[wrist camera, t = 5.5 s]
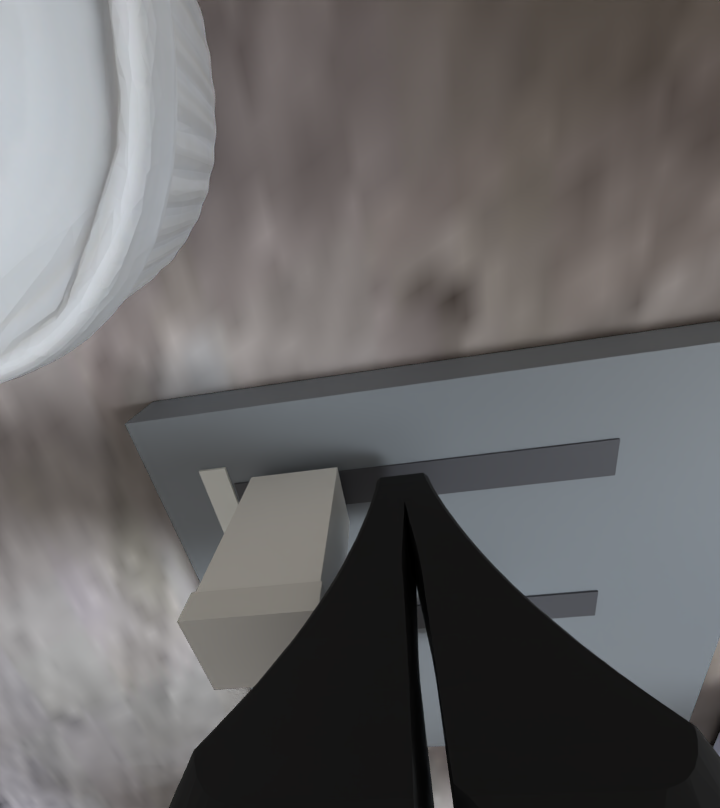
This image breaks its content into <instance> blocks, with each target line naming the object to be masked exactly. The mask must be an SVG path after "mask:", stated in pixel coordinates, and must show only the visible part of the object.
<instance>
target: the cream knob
mask: <svg viewBox="0 0 720 808" xmlns="http://www.w3.org/2000/svg"><path fill="white" fill-rule="evenodd" d="M349 524H350V521H349V517H348V513H347V508H346V504H345V499H344V495H343V490H342V486H341V481H340V477H339V472H338V468H337V467H335V468H326V469H318V470H309V471H301V472H292V473H284V474H276V475H267V476H259V477H251V479H250V481H249V483H248V486H247V488H246V490H245V492H244V494H243V496H242V498H241V500H240V502H239V504H238V506H237V508H236V510H235V512H234V514H233V516H232V519H231V521H230V523H229V525H228V527H227V529H226V531H225V533H224V535H223V537H222V539H221V541H220V543H219V545H218V547H217V550H216V552H215V554H214V556H213V558H212V560H211V562H210V564H209V566H208V568H207V570H206V572H205V574H204V576H203V578H202V580H201V583H200V585H199V587H198V589H197V591H196V592H193V593H191V595H190V597H189V599H188V601H187V603H186V605H185V607H184V609H183V611H182V613H181V615H180V617H179V619H178V621H177V622H178V624H179V626H180V628H181V630H182V632H183V633H184V635H185V637H186V639H187V641H188V643H189V644H190V646H191V648H192V650H193V652H194V654H195V655H196V657H197V659H198V661H199V663H200V664H201V666H202V668H203V670H204V672H205V674H206V675H207V677H208V679H209V681H210V683H211V685H212V686H213V688H214V690H221V689H236V688H252V687H254V686H255V685H256V684H257V683H258V681H259V680H260V679H261V678H262V677H263V675H264V674H265V673H266V672H267V671H268V669H269V668H270V667H271V666H272V664H273V663H274V662H275V661H276V660H277V658H278V657H279V656H280V655H281V654H282V652H283V651H284V650H285V649H286V647H287V646H288V645H289V644H290V643H291V641H292V640H293V639H294V637H295V636H296V635H297V633H298V632H299V631H300V629H301V628H302V627H303V625H304V624H305V622H306V621H307V620H308V618H309V617H310V615H311V614H312V612H313V611H314V610H315V608H316V607H317V605H318V604H319V602H320V601H321V599H322V598H323V596H324V595H325V593H326V592H327V590H328V588H329V587H330V585H331V584H332V582H333V580H334V579H335V577H336V575H337V574H338V572H339V570H340V568H341V567H342V565H343V563H344V561H345V559H346V557H347V549H348V537H349Z"/></svg>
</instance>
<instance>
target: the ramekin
mask: <svg viewBox="0 0 720 808" xmlns="http://www.w3.org/2000/svg"><path fill="white" fill-rule="evenodd" d="M215 139H216V122H215V90H214V85H213V81H212V70H211V57H210V52H209V48H208V45H207V41H206V34H205V26H204V19H203V16H202V12H201V9H200V7H199V4H198V2H197V0H0V383H3V382H6V381H9V380H12V379H15V378H18V377H21V376H23V375H26V374H28V373H30V372H33V371H35V370H37V369H39V368H41V367H43V366H46V365H48V364H50V363H52V362H54V361H56V360H57V359H59V358H61V357H62V356H64V355H66V354H67V353H69V352H71V351H72V350H73V349H75V348H76V347H77V346H79V345H80V344H82V343H83V342H84V341H86V340H87V339H88V338H90V337H91V336H92V335H93V334H94V333H95V332H96V331H97V330H98V329H99V328H100V327H101V326H102V325H103V324H104V323H105V322H106V321H107V320H108V319H109V318H110V317H111V316H112V315H113V314H114V313H115V311H116V310H117V309H118V308H119V306H120V305H121V304H122V302H123V301H124V300H125V299H127V298H128V297H129V296H131V295H132V294H134V293H135V292H136V291H138V290H139V289H140V288H142V287H143V286H144V285H146V284H147V283H148V282H150V281H151V280H152V279H154V278H155V276H156V275H157V274H158V273H159V271H160V270H161V269H162V268H164V267H165V266H167V265H168V264H169V263H170V262H171V261H172V260H173V259H174V257H175V256H176V254H177V252H178V250H179V249H180V248H181V247H182V246H183V245H184V243H185V242H186V240H187V239H188V237H189V234H190V232H191V230H192V228H193V226H194V225H195V223H196V222H197V220H198V219H199V216H200V213H201V208H202V205H203V202H204V200H205V198H206V196H207V194H208V191H209V180H210V175H211V172H212V169H213V166H214V146H215Z"/></svg>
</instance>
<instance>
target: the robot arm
mask: <svg viewBox="0 0 720 808" xmlns="http://www.w3.org/2000/svg"><path fill="white" fill-rule="evenodd" d="M417 591H418V596H419V600H420V605H421V610H422V614H423V619H424V623H425V628H426V632H427V637H428V642H429V646H430V651H431V655H432V660H433V666H434V671H435V677H436V683H437V690H438V698H439V705H440V712H441V719H442V726H443V734H444V741H445V748H446V755H447V763H448V770H449V777H450V784H451V792H452V799H453V806H454V808H720V732H719V735H718V737H717V739H716V742H715V744H714V746H713V747H712V746H711V745H710V743H709V742H708V741H707V740H706V738H705V737H704V736H703V735H702V733H701V732H700V731H699V730H698V728H697V727H696V726H695V725H693V724H692V723H690V722H689V721H687V720H686V719H684V718H683V717H681V716H680V715H678V714H677V713H676V712H674V711H673V710H671V709H670V708H668V707H667V706H665V705H664V704H662V703H661V702H660V701H658V700H657V699H655V698H654V697H652V696H651V695H649V694H648V693H647V692H645V691H644V690H642V689H641V688H640V687H638V686H637V685H635V684H634V683H633V682H631V681H630V680H629V679H627V678H626V677H624V676H623V675H622V674H620V673H619V672H617V671H616V670H615V669H614V668H612V667H611V666H610V665H608V664H607V663H606V662H604V661H603V660H602V659H600V658H599V657H598V656H596V655H595V654H594V653H593V652H591V651H590V650H589V649H587V648H586V647H585V646H583V645H582V644H581V643H580V642H578V641H577V640H576V639H575V638H574V637H572V636H571V635H570V634H569V633H568V632H566V631H565V630H564V629H563V628H562V627H560V626H559V625H558V624H557V623H556V622H555V621H553V620H552V619H551V618H550V617H549V616H547V615H546V614H545V613H544V612H543V611H541V610H540V609H539V608H538V607H537V606H535V605H534V604H533V603H532V602H531V601H530V600H529V599H528V598H527V597H526V596H525V595H524V594H522V593H521V592H520V591H519V590H518V589H517V588H516V587H515V586H514V585H513V584H512V583H511V582H510V581H509V580H508V579H507V578H506V577H505V576H504V575H503V574H502V573H501V572H500V571H499V570H498V569H497V568H496V567H495V566H494V565H493V564H492V563H491V562H490V561H489V560H488V559H487V557H486V556H485V555H484V554H483V553H482V552H481V551H480V550H479V548H478V547H477V546H476V545H475V544H474V543H473V542H472V540H471V539H470V538H469V537H468V536H467V534H466V533H465V532H464V531H463V529H462V528H461V527H460V525H459V524H458V523H457V521H456V520H455V519H454V518H453V516H452V515H451V514H450V512H449V511H448V509H447V508H446V507H445V505H444V504H443V502H442V501H441V499H440V497H439V496H438V494H437V493H436V491H435V489H434V488H433V486H432V484H431V482H430V480H429V477H428V476H427V475H426V474H425V473H416V474H407V475H398V476H390V477H381V478H380V479H379V480H378V481H377V483H376V488H375V492H374V495H373V498H372V501H371V504H370V507H369V509H368V512H367V514H366V517H365V519H364V521H363V524H362V526H361V528H360V531H359V533H358V535H357V537H356V540H355V541H354V543H353V545H352V547H351V549H350V551H349V553H348V555H347V557H346V559H345V561H344V563H343V565H342V567H341V568H340V570H339V572H338V574H337V575H336V577H335V579H334V580H333V582H332V584H331V585H330V587H329V588H328V590H327V592H326V593H325V595H324V596H323V598H322V599H321V601H320V602H319V604H318V605H317V607H316V608H315V610H314V611H313V612H312V614H311V615H310V617H309V618H308V620H307V621H306V622H305V624H304V625H303V627H302V628H301V629H300V631H299V632H298V633H297V635H296V636H295V637H294V639H293V640H292V641H291V643H290V644H289V645H288V646H287V647H286V649H285V650H284V651H283V652H282V654H281V655H280V656H279V657H278V658H277V660H276V661H275V662H274V663H273V664H272V666H271V667H270V668H269V669H268V671H267V672H266V673H265V674H264V675H263V677H262V678H261V679H260V680H259V681H258V683H257V684H256V685H255V686H254V687H253V688H252V689H251V690H250V692H249V693H248V694H247V695H246V696H245V697H244V698H243V699H242V700H241V701H240V702H239V703H238V705H237V706H236V707H235V708H234V709H233V710H232V711H231V712H230V713H229V714H228V715H227V716H226V717H225V718H224V719H223V720H222V721H221V723H220V724H219V725H218V726H217V727H216V728H215V729H214V730H213V731H212V732H211V733H210V734H209V735H208V736H207V737H206V738H205V739H204V740H203V741H202V742H201V744H200V745H199V746H198V747H197V748H196V749H195V750H194V751H193V754H192V756H191V758H190V761H189V763H188V765H187V768H186V770H185V772H184V774H183V777H182V779H181V781H180V783H179V785H178V787H177V790H176V792H175V795H174V797H173V799H172V802H171V804H170V807H169V808H434V801H433V792H432V783H431V774H430V765H429V756H428V747H427V738H426V729H425V720H424V711H423V702H422V693H421V684H420V670H419V651H418V618H417Z"/></svg>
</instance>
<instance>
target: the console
mask: <svg viewBox="0 0 720 808" xmlns="http://www.w3.org/2000/svg"><path fill="white" fill-rule="evenodd" d="M125 426H126V428H127V430H128V432H129V434H130V436H131V438H132V440H133V443H134V445H135V447H136V449H137V451H138V453H139V455H140V457H141V459H142V461H143V464H144V466H145V468H146V470H147V472H148V474H149V476H150V478H151V480H152V482H153V484H154V487H155V489H156V491H157V493H158V495H159V497H160V499H161V501H162V503H163V505H164V508H165V510H166V512H167V514H168V516H169V518H170V520H171V522H172V524H173V526H174V528H175V531H176V533H177V535H178V537H179V539H180V541H181V543H182V545H183V547H184V549H185V552H186V554H187V556H188V558H189V560H190V562H191V564H192V566H193V568H194V570H195V572H196V575H197V577H198V579H199V581H200V583H201V580H202V578H203V576H204V574H205V572H206V570H207V568H208V566H209V564H210V562H211V560H212V558H213V556H214V554H215V552H216V550H217V547H218V545H219V543H220V541H221V539H222V537H223V535H224V533H225V531H226V529H227V527H228V525H229V523H230V521H231V519H232V516H233V514H234V512H235V510H236V508H237V506H238V504H239V502H240V500H241V498H242V496H243V494H244V492H245V490H246V488H247V486H248V483H249V481H250V479H251V477H259V476H267V475H276V474H284V473H292V472H301V471H309V470H318V469H326V468H335V467H337V468H338V472H339V477H340V481H341V486H342V490H343V495H344V499H345V504H346V508H347V513H348V517H349V521H350V524H349V537H348V549H347V555H348V553H349V551H350V549H351V547H352V545H353V543H354V541H355V540H356V537H357V535H358V533H359V531H360V528H361V526H362V524H363V521H364V519H365V517H366V514H367V512H368V509H369V507H370V504H371V501H372V498H373V495H374V492H375V488H376V483H377V481H378V480H379V479H380V478H381V477H390V476H398V475H407V474H416V473H425V474H426V475H427V476H428V477H429V480H430V482H431V484H432V486H433V488H434V489H435V491H436V493H437V494H438V496H439V497H440V499H441V501H442V502H443V504H444V505H445V507H446V508H447V509H448V511H449V512H450V514H451V515H452V516H453V518H454V519H455V520H456V521H457V523H458V524H459V525H460V527H461V528H462V529H463V531H464V532H465V533H466V534H467V536H468V537H469V538H470V539H471V540H472V542H473V543H474V544H475V545H476V546H477V547H478V548H479V550H480V551H481V552H482V553H483V554H484V555H485V556H486V557H487V559H488V560H489V561H490V562H491V563H492V564H493V565H494V566H495V567H496V568H497V569H498V570H499V571H500V572H501V573H502V574H503V575H504V576H505V577H506V578H507V579H508V580H509V581H510V582H511V583H512V584H513V585H514V586H515V587H516V588H517V589H518V590H519V591H520V592H521V593H522V594H524V595H525V596H526V597H527V598H528V599H529V600H530V601H531V602H532V603H533V604H534V605H535V606H537V607H538V608H539V609H540V610H541V611H543V612H544V613H545V614H546V615H547V616H549V617H550V618H551V619H552V620H553V621H555V622H556V623H557V624H558V625H559V626H560V627H562V628H563V629H564V630H565V631H566V632H568V633H569V634H570V635H571V636H572V637H574V638H575V639H576V640H577V641H578V642H580V643H581V644H582V645H583V646H585V647H586V648H587V649H589V650H590V651H591V652H593V653H594V654H595V655H596V656H598V657H599V658H600V659H602V660H603V661H604V662H606V663H607V664H608V665H610V666H611V667H612V668H614V669H615V670H616V671H617V672H619V673H620V674H622V675H623V676H624V677H626V678H627V679H629V680H630V681H631V682H633V683H634V684H635V685H637V686H638V687H640V688H641V689H642V690H644V691H645V692H647V693H648V694H649V695H651V696H652V697H654V698H655V699H657V700H658V701H660V702H661V703H662V704H664V705H665V706H667V707H668V708H670V709H671V710H673V711H674V712H676V713H677V714H678V715H680V716H681V717H683V718H684V719H686V720H687V721H690V718H691V715H692V712H693V710H694V707H695V704H696V701H697V699H698V696H699V693H700V690H701V687H702V685H703V682H704V679H705V676H706V674H707V671H708V668H709V665H710V663H711V660H712V657H713V654H714V651H715V649H716V646H717V643H718V640H719V638H720V321H716V322H709V323H702V324H695V325H688V326H681V327H674V328H667V329H660V330H653V331H646V332H639V333H632V334H625V335H618V336H611V337H604V338H597V339H590V340H583V341H576V342H569V343H562V344H555V345H548V346H541V347H534V348H527V349H520V350H513V351H506V352H499V353H492V354H485V355H478V356H471V357H464V358H457V359H450V360H443V361H436V362H428V363H421V364H414V365H407V366H400V367H393V368H386V369H379V370H372V371H365V372H358V373H351V374H344V375H337V376H330V377H323V378H316V379H309V380H302V381H295V382H288V383H281V384H274V385H267V386H260V387H253V388H246V389H239V390H232V391H225V392H218V393H211V394H204V395H197V396H190V397H183V398H176V399H169V400H162V401H155V402H152V403H151V404H149V405H148V406H147V407H146V408H144V409H143V410H142V411H141V412H139V413H138V414H137V415H135V416H134V417H133V418H132V419H130V420H129V421H128V422H127V423H125ZM417 618H418V651H419V670H420V684H421V693H422V702H423V711H424V720H425V729H426V738H427V747H433V746H445V741H444V734H443V726H442V719H441V712H440V705H439V698H438V690H437V683H436V677H435V671H434V666H433V660H432V655H431V651H430V646H429V642H428V637H427V632H426V628H425V623H424V619H423V614H422V610H421V605H420V600H419V596H418V591H417ZM252 688H253V687H252ZM252 688H251V689H252Z"/></svg>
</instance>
